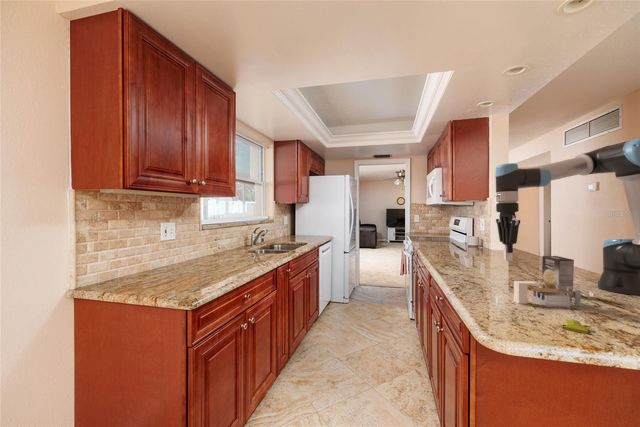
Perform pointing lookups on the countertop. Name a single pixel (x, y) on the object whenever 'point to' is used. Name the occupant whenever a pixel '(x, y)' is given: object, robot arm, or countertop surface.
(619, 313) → the countertop surface
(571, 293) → the strap
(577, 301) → the board
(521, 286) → the cream l-shaped bracket
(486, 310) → the countertop surface
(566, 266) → the coffee box
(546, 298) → the heatsink
